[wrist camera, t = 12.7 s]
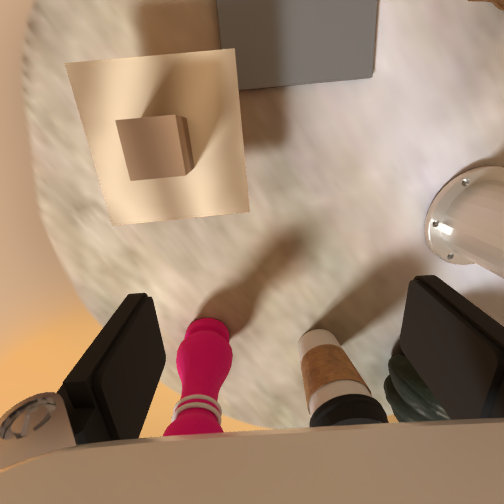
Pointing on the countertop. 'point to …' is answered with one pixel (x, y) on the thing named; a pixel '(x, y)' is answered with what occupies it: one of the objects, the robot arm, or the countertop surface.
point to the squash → (410, 393)
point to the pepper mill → (201, 378)
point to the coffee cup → (334, 384)
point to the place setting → (500, 0)
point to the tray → (298, 40)
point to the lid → (164, 134)
